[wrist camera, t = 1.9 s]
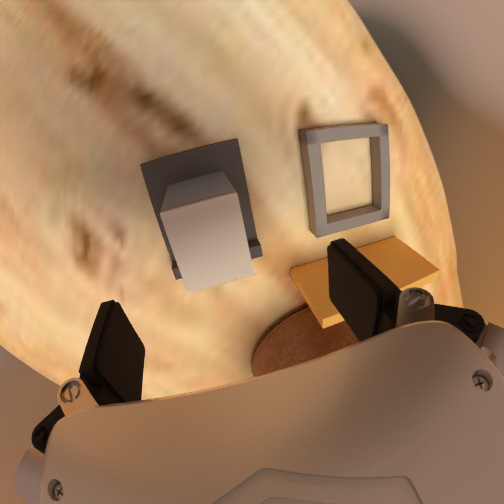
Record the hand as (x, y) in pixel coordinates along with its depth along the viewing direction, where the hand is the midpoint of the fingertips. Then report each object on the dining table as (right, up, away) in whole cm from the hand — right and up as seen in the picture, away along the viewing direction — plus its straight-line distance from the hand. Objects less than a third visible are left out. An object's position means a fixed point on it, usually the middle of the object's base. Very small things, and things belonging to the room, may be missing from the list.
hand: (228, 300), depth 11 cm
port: (+9, +7, +11) cm, 16 cm away
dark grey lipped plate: (-3, +5, +9) cm, 11 cm away
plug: (-3, +5, +8) cm, 10 cm away
